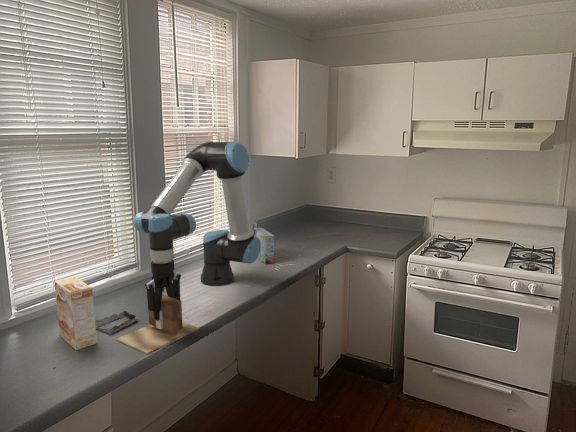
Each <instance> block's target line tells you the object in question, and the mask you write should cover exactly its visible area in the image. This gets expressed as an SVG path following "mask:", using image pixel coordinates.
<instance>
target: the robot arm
mask: <svg viewBox="0 0 576 432" xmlns="http://www.w3.org/2000/svg"><path fill="white" fill-rule="evenodd" d="M249 163H250V155H249V151H248V150H247V148H246V146H245V145H243V144H242V143H240V142H234V141H207V142H204V143H201V144H199V145H197V146H196V147H195V148H193V149H191V151H190V152H189V153H187V154H186V156H185V157H184V158H183V159H182V161H181V166H180V167H179V169H178V171H176V173H175V174H174V176H173V177H172V178H171V180H170V181H169V182H168V183H167V185H166V186H165V187H164V188H163V190H162V191H161V192H160V194H159V195H158V196H157V197H156V199H155V200H154V201H153V203H152V204H151V205H150V207H149V208H148V209H147V211H140V212H138V213H137V214H136V215H135V216H134V219H133V225H134V228H135V229H136V231H138V232H140V233H144V234H149V236H148V237H149V253H150V254H149V255H150V261H151V262H150V271H151V275H152V277H151V280H150V281H149V282H145V283H144V286H145V289H146V294H147V295H146V296H147V299H146V300H147V310H150V311H153V312H154V319H155V320H156V328H158V329H161V330H162V329H163V316H162V311H161V310H160V307H161V300H162V295H163V292H164V290H165V293H166V296H168V297H172V298H175V299H178V300H181V282H180V281H181V277H182V275H181V274H180V273H176V272H175V261H174V259H175V254H174V253H175V250H174V240H176V239H180V238H183V237H186V236H187V237H188V236H189V235H191V234H193V233H194V232H195V230H196V229H197V222H196V219H195V217H194V216H193V215H192V214H190V213H181V214H179V215H176V214H172V213H173V212H174V210H175V209H176V208H177V206H178V205H179V204H180V202H181V201H182V199H183V198H184V196H185V195H186V194H187V192H189V189H190V188H191V187H192V185H193V184H194V182H195V181H196V180H197V179H198V178H200V177H202V176H203V175H204V173H206V172H208V171H214V172H216V177H217V179H219V180H220V181H221V184H222V191H223V197H224V203H225V208H226V209H225V210H226V214H227V222H228V226H229V230H228V229H217V230H213V231H208V232H205V233H204V234H203V239H202V240H203V241H202V246H203V268H202V272H201V275H200V282H201V283H202V284H203V285H207V286H214V287H215V286H224V285H229V284H231V283H233V282H234V281H235V273H234V272H233V269H232V266H231V262H235V263H242V264H253V263H255V261H256V260H258V259H259V258H258V256H259V253H260V249H261V242H260V239H259V238H256V237H254V232H253V229H251V228H250V222H249V215H248V209H247V201H246V194H245V188H244V181H243V177H244V176H245V175H246V171H247V170H248V168H249V166H250V165H249Z"/></svg>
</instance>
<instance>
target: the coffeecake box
mask: <svg viewBox="0 0 576 432" xmlns="http://www.w3.org/2000/svg"><path fill="white" fill-rule="evenodd" d="M53 283H54V290H55V293H54V294H55V301H56V310H57V311H56V312H57V321H58V323H57V324H58V332H59V336H60V337H61V338H62V339H63V341H65V342H66V343H67V344H69V346H70V347H72V348H73V349H74V350H75V351H78V350H79V351H80V350H82V349H84V348H87V347H91V346H93V345H96V344H98V339H97V329H96V327H95V321H96V317H95V316H96V315H95V305H94V295H93V294H94V293H93V287H92V286H90V285H88V284H87V283H86V282H84V281H83V280H81V279H79V278H78V277H76V276H72V277H67V278H59V279H56V280H54V281H53Z"/></svg>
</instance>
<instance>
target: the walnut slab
mask: <svg viewBox="0 0 576 432" xmlns="http://www.w3.org/2000/svg"><path fill="white" fill-rule="evenodd" d="M182 308H183V307H182V300H181V299H180V300H178V299H175V298H172V297H168V296H167V295H165V294H162V300H161V307H160V310H161V311H162V316H163V330H165V331H168V332H171V333H174V332H176V331H178V330H180V329H182V328H183V325H182V322H183V313H182V312H183V311H182V310H183V309H182ZM147 310H148V309H147ZM147 312H148V325H153V326H155V327H156V320H155V319H154V312H153V311H150V310H148V311H147Z"/></svg>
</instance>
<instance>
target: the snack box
mask: <svg viewBox="0 0 576 432" xmlns="http://www.w3.org/2000/svg"><path fill="white" fill-rule="evenodd" d="M252 230H253V232H254V237H256V238H259V239H260V242H261V249H260V253H259V256H258V258H257V259H259V260H260V261H261V262H262V263H263V262H264V263H265V265H267V263H272V264H275V235H274V234H272V233H271V232H269V231H267V230H266V229H265V228H263V227H254V228H253V229H252Z"/></svg>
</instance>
